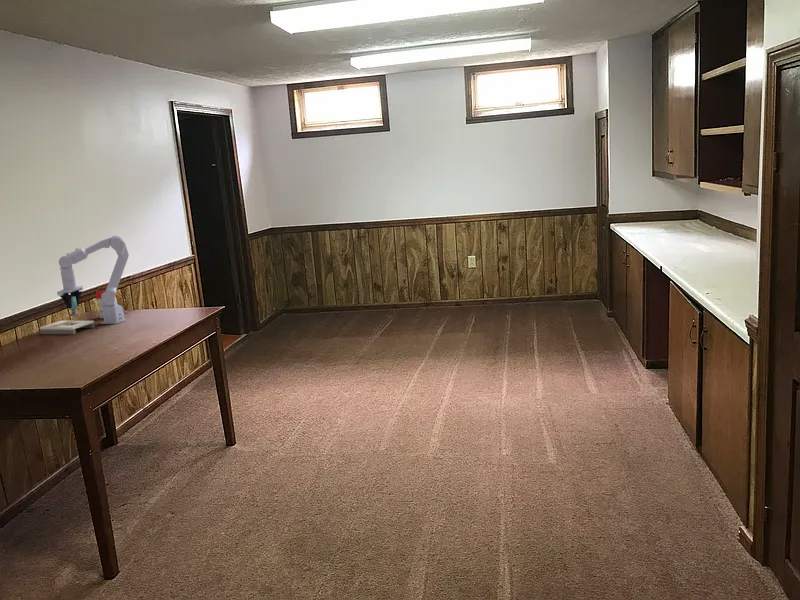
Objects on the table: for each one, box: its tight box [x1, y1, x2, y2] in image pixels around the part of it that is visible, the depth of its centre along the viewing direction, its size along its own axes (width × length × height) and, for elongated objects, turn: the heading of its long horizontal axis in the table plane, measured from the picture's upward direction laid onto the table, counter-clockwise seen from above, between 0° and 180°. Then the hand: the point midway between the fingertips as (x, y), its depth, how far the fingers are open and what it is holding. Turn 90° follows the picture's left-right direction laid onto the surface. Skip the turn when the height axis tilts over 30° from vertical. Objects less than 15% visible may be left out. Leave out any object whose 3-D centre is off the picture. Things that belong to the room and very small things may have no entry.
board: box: [39, 320, 95, 335], centre depth 336 cm, size 20×14×4 cm
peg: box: [68, 296, 80, 318], centre depth 340 cm, size 4×4×9 cm
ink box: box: [95, 289, 118, 319], centre depth 362 cm, size 8×5×15 cm, turn 84°
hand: (73, 307), depth 340 cm, fingers closed on peg, 4 cm apart
